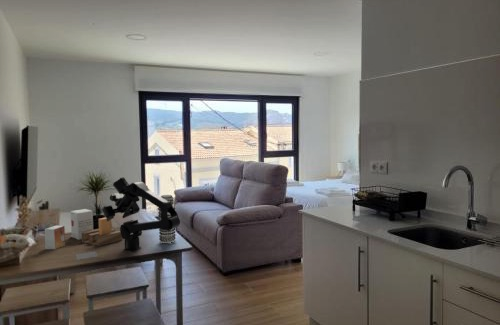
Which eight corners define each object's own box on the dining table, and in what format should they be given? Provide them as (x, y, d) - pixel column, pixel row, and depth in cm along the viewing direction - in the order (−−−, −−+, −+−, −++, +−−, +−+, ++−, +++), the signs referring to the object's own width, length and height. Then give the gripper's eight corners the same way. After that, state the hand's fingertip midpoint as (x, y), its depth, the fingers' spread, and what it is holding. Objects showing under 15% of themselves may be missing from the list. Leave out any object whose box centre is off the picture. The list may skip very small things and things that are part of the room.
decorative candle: (155, 243, 198) (154, 196, 196) (163, 238, 207) (162, 193, 205) (171, 244, 196) (170, 197, 194) (179, 239, 205) (177, 194, 203)
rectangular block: (111, 239, 203) (111, 217, 202) (102, 241, 198) (101, 219, 197) (109, 238, 204) (108, 216, 203) (99, 241, 199) (98, 218, 198)
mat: (95, 252, 184) (95, 251, 184) (97, 257, 176) (97, 256, 176) (75, 255, 180) (75, 254, 180) (76, 260, 172) (76, 259, 172)
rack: (122, 240, 204) (122, 231, 204) (99, 246, 193) (98, 237, 192) (105, 235, 213) (104, 227, 213) (81, 241, 202) (81, 232, 202)
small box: (54, 250, 188) (53, 229, 187) (45, 249, 189) (44, 228, 188) (65, 245, 196) (64, 225, 195) (56, 244, 197) (55, 225, 196)
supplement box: (71, 237, 212) (69, 210, 210) (86, 233, 218) (85, 208, 217) (77, 240, 206) (76, 213, 204) (93, 236, 212) (92, 210, 211)
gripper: (136, 186, 198) (124, 204, 205) (103, 190, 183) (92, 209, 191) (145, 202, 194) (133, 220, 201) (113, 208, 179) (101, 227, 187)
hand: (115, 219), depth 195 cm, fingers open, 9 cm apart
